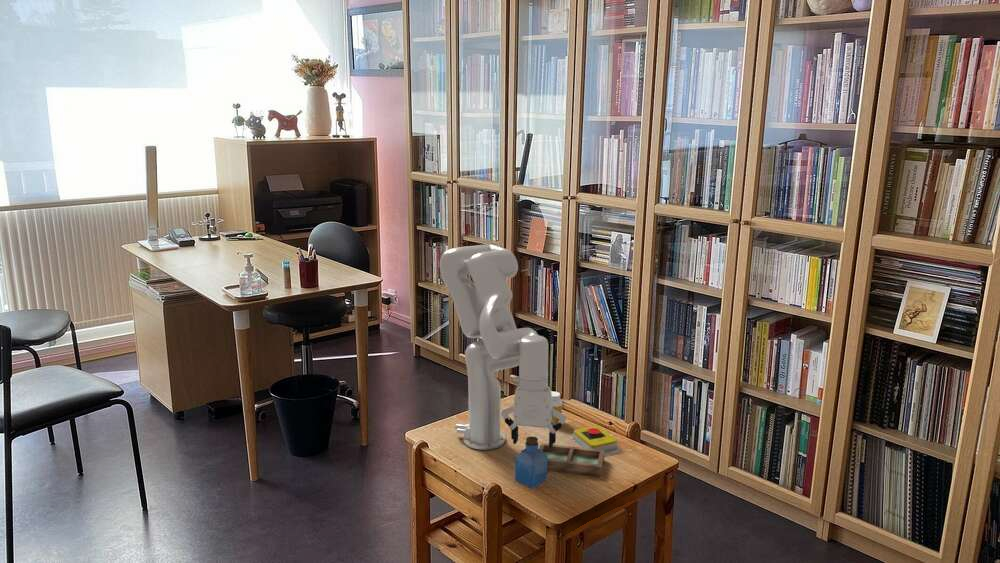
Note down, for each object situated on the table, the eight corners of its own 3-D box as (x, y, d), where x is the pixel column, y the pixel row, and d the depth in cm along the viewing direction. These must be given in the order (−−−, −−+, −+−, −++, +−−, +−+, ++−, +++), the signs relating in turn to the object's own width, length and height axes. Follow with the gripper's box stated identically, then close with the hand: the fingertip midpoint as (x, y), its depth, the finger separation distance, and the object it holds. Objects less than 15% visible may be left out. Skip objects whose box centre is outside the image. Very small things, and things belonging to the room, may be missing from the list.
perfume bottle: (528, 471, 199) (529, 431, 196) (547, 479, 196) (548, 438, 193) (514, 480, 195) (515, 439, 192) (533, 488, 191) (534, 446, 188)
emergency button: (595, 419, 223) (623, 439, 210) (595, 432, 224) (622, 453, 211) (569, 424, 220) (596, 445, 206) (569, 437, 221) (595, 459, 207)
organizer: (534, 468, 201) (534, 459, 200) (540, 452, 210) (541, 442, 210) (600, 477, 197) (601, 467, 196) (604, 459, 206) (604, 450, 205)
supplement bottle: (544, 425, 228) (545, 397, 225) (544, 418, 233) (545, 390, 230) (561, 426, 227) (562, 397, 225) (561, 418, 233) (562, 390, 230)
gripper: (498, 385, 186) (498, 446, 190) (564, 390, 183) (563, 453, 186) (504, 375, 194) (504, 434, 197) (568, 380, 190) (567, 440, 193)
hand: (533, 443), depth 192 cm, fingers open, 9 cm apart
